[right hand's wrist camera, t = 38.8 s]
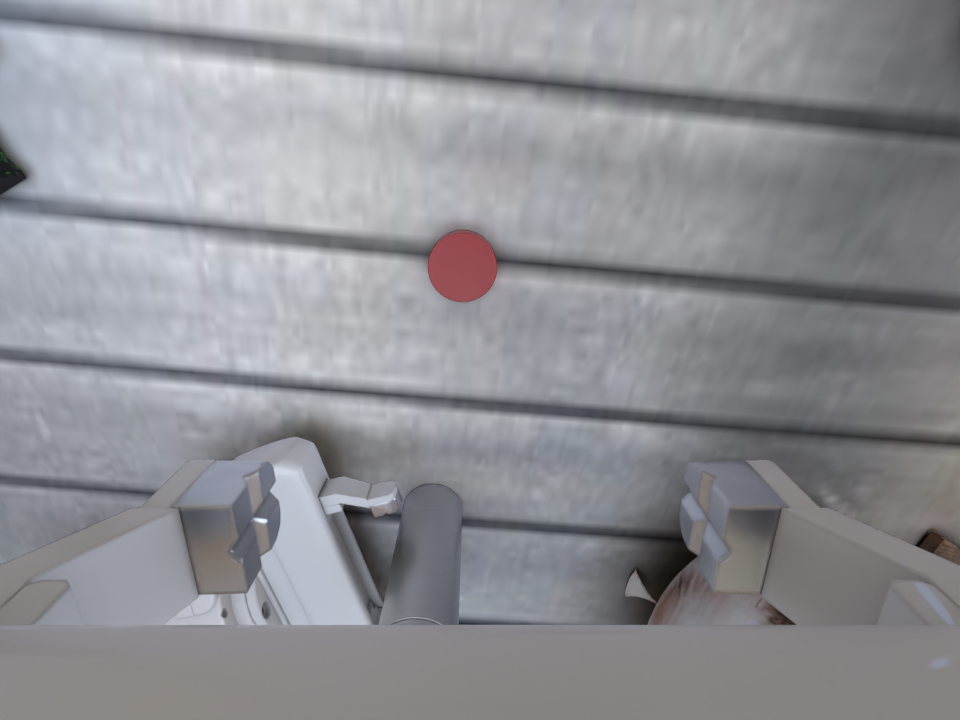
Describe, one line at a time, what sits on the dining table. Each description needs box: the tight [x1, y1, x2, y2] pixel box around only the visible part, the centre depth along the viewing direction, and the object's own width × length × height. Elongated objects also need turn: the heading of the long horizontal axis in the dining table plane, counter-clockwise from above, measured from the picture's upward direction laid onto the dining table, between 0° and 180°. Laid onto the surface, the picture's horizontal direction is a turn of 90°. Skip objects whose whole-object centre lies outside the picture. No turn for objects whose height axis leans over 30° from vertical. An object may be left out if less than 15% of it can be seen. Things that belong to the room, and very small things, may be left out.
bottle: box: [379, 484, 462, 625], centre depth 34 cm, size 5×5×17 cm
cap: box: [428, 230, 497, 302], centre depth 34 cm, size 4×4×2 cm
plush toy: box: [625, 556, 796, 625], centre depth 37 cm, size 22×18×20 cm
